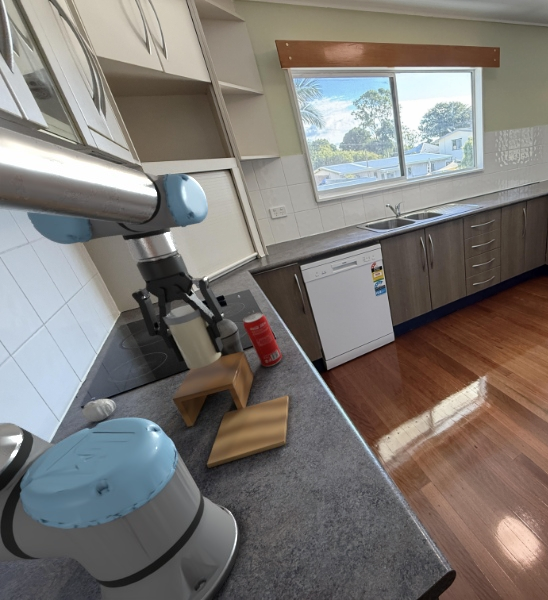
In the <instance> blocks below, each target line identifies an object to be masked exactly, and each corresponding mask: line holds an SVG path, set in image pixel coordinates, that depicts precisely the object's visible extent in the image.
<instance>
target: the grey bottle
mask: <svg viewBox="0 0 548 600" xmlns="http://www.w3.org/2000/svg"><path fill="white" fill-rule="evenodd" d="M218 323H219V326H220V328H221V331H222V335H221V337H220V340H221V342H222V344H223V348H222V350H221V356H220V357H222V356H226V355H230V354H234V353H238V352H242V351H244V349H243V346H242V342H241V338H240V333H239V332H240V331H239V327H237V324H236V323H235V322H234V321H232V320H231V319H228V318H223V319H222V321H219V322H218Z"/></svg>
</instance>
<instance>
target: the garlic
mask: <svg viewBox="0 0 548 600" xmlns="http://www.w3.org/2000/svg"><path fill="white" fill-rule="evenodd" d="M116 409H117V406H116V402H115V401H113V400H112V399H110V398H100V399H96V400H93V401H89V402H87V403H85V405H84V406H83V409H82V410H81V415H82V417H83V418H84V419H85V420H86V421H88V422H100V421H103V420H105V419H107V418H109V417H110V416H111V415H112V414H113V413H114V412H115V410H116Z"/></svg>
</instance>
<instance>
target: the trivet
mask: <svg viewBox="0 0 548 600" xmlns="http://www.w3.org/2000/svg"><path fill="white" fill-rule="evenodd" d="M289 403H290V398H289V395H284V396H281V397H278V398H273V399H271V400H266V401H264V402H259V403H256V404H253V405H249V406H246V407H245V408H241V409H235V410H231V411H227V412H224V413H223V417H222V419H221V422H220V425H219V428H218V431H217V434H216V437H215V439H214V441H213V445H212V449H211V451H210V453H209V456H208V459H207V462H206V466H207V468H208V469H211V468H213V467H216V466H220V465H223V464H226V463H230V462H233V461H236V460H240V459H242V458H243V459H244V458H246V457H250V456H253V455H255V454H259V453H262V452H266V451H269V450H272V449H275V448H278V447H281V446H284V445H286V443H287V442H286V441H287V431H288V430H287V428H288V418H289V405H290V404H289Z"/></svg>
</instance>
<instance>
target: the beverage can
mask: <svg viewBox="0 0 548 600" xmlns="http://www.w3.org/2000/svg"><path fill="white" fill-rule="evenodd" d="M242 320H243V327H244V329H245V331H246V334H247V336H248V338H249V340H250V343H251V344H252V347H253V349H254V352H255V353H256V356H257V358H258V360H259V362H260V364H261V365H262V366H263V367H267V368H269V367H272V366H273V367H274V366H275V365H277V364H278V363H280V361H281V360H282V357H283V355H282V352H281V351H280V348H279V346H278V344H277V341H276V339H275V335H274V334H273V331H272V329H271V327H270V324H269V322H268V320H267V317H266V316H265V315H264V314H263V312H260V311H259V312H252V313H251V314H248V315H247V316H245V317H243V319H242Z"/></svg>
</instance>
